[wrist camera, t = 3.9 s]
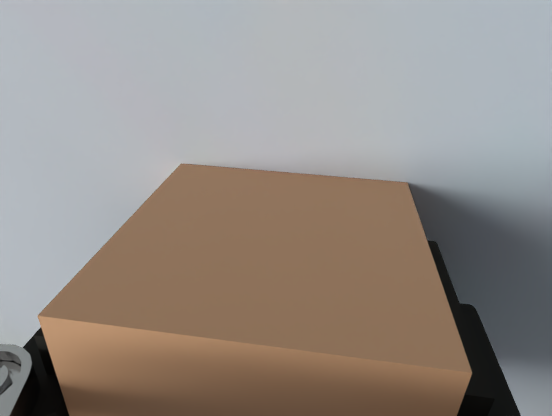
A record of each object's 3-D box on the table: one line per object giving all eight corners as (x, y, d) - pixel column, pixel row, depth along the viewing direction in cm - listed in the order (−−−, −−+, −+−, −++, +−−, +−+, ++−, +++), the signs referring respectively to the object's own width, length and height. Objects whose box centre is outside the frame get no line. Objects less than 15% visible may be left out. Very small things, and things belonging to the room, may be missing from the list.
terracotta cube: (407, 182, 9) (472, 373, 4) (374, 350, 11) (394, 585, 7) (181, 163, 9) (37, 315, 5) (194, 327, 12) (105, 531, 7)
